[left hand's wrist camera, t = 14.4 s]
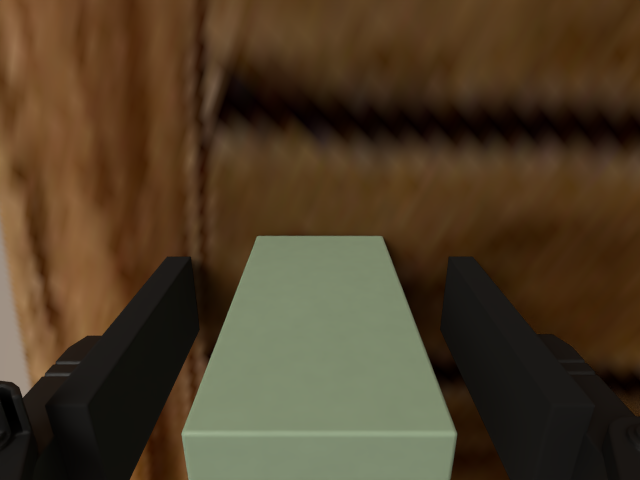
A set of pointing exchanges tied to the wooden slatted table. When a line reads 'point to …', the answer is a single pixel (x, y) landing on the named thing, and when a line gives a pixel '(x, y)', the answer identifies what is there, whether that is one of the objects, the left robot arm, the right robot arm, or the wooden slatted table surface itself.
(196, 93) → the wooden slatted table surface
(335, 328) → the block
